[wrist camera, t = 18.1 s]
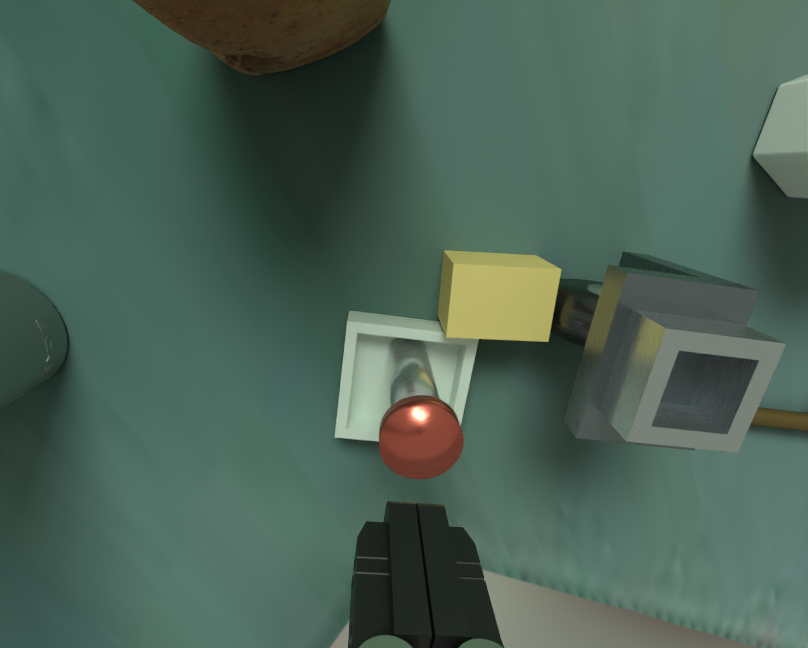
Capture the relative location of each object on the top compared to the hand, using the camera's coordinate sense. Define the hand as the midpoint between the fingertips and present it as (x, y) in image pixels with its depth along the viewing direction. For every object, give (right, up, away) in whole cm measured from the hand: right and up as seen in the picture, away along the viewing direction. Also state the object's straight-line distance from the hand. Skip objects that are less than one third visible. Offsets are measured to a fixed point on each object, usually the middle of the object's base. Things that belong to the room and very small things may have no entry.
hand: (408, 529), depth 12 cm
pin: (0, +3, +23) cm, 23 cm away
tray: (0, +1, +24) cm, 24 cm away
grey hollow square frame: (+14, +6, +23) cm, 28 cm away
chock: (+6, +8, +22) cm, 25 cm away
